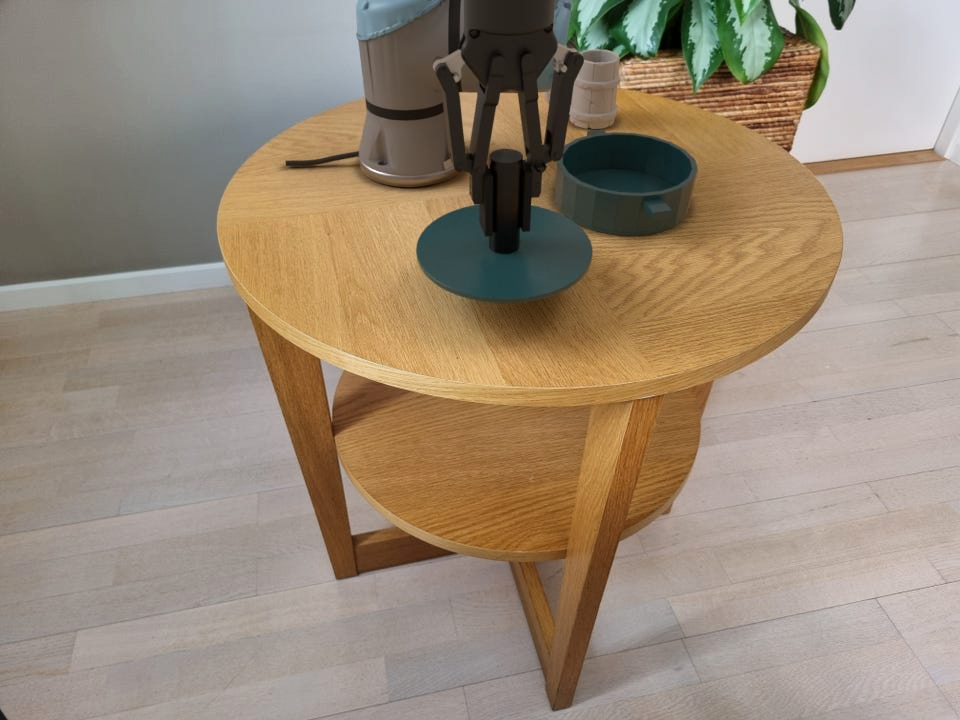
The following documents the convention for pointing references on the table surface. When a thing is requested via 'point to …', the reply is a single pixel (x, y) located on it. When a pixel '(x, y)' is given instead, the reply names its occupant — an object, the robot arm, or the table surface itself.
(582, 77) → the mug
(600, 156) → the shallow round tub
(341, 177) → the table surface
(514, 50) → the robot arm
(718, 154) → the table surface
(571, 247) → the lid
